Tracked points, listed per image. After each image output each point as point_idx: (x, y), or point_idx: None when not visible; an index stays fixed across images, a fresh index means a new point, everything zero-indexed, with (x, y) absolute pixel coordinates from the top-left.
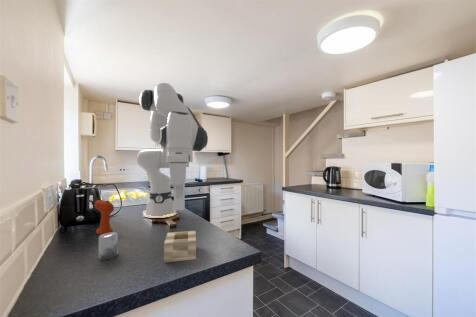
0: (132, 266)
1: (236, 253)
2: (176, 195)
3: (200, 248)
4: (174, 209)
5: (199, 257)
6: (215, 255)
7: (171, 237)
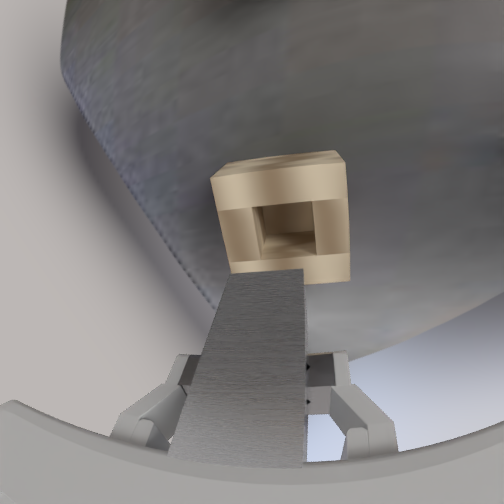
0: (207, 71)
1: None
2: (172, 370)
3: None
4: (229, 281)
5: None
6: None
7: (277, 192)
